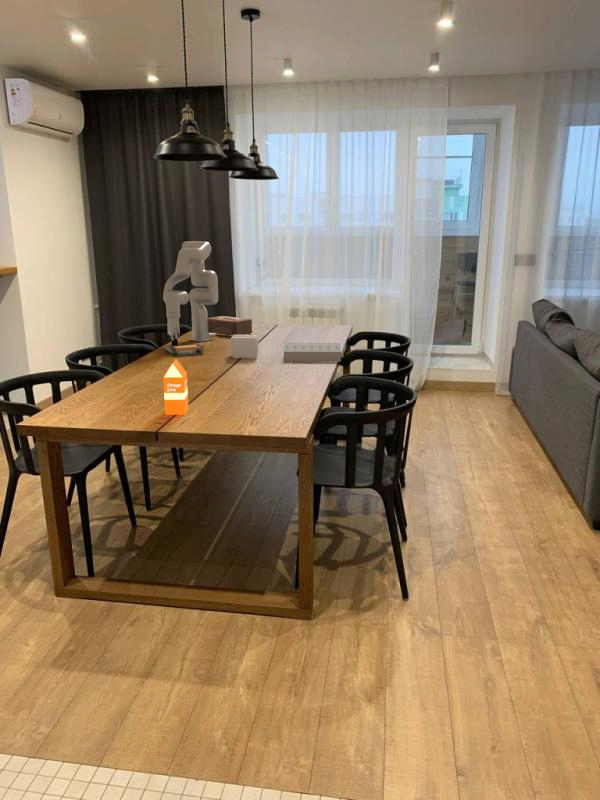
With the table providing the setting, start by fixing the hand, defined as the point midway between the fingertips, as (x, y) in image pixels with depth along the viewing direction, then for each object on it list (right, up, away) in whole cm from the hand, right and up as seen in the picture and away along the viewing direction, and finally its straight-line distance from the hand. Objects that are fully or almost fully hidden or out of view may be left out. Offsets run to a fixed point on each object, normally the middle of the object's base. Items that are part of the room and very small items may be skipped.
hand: (174, 347), depth 352 cm
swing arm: (+8, -1, -6) cm, 10 cm away
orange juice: (+23, -34, -109) cm, 117 cm away
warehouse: (+77, -8, -15) cm, 79 cm away
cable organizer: (+40, -6, -12) cm, 42 cm away
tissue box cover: (+24, +14, +58) cm, 65 cm away
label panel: (+5, -3, 0) cm, 5 cm away
